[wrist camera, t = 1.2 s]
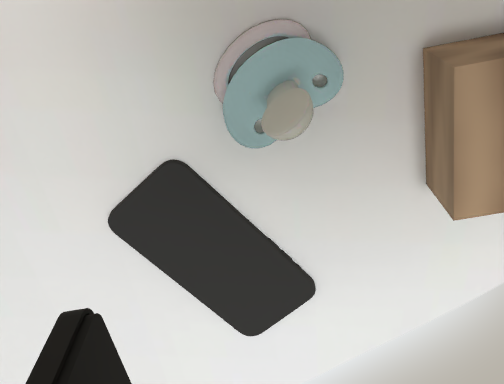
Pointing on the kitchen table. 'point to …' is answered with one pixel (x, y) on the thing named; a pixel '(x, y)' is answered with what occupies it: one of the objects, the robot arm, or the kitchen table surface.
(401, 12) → the kitchen table surface
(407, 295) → the kitchen table surface
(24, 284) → the kitchen table surface
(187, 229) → the phone
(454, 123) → the block
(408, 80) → the kitchen table surface
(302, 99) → the pacifier
